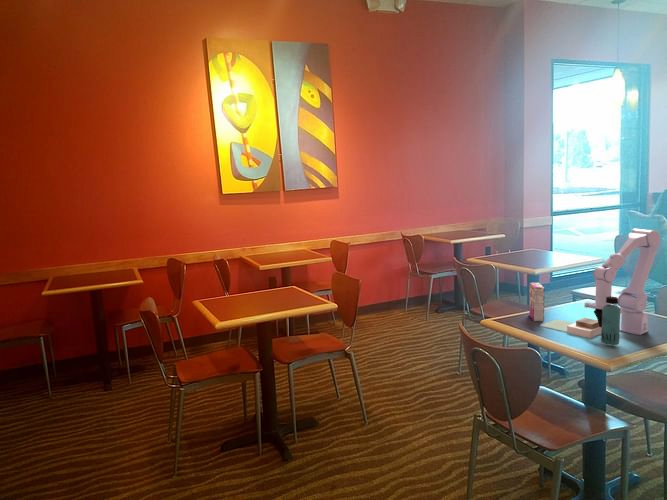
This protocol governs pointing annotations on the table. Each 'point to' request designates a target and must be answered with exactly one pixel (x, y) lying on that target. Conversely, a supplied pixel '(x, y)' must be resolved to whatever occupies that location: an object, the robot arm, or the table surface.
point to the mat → (557, 325)
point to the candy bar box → (536, 302)
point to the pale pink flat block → (583, 331)
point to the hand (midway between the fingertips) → (602, 326)
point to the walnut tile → (587, 323)
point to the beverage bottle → (611, 322)
